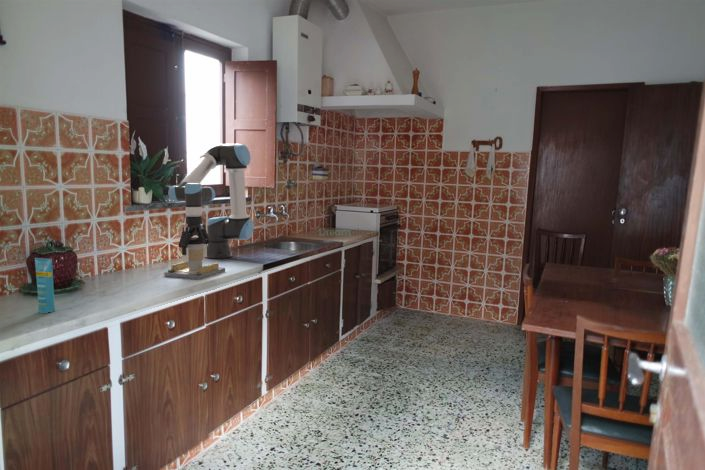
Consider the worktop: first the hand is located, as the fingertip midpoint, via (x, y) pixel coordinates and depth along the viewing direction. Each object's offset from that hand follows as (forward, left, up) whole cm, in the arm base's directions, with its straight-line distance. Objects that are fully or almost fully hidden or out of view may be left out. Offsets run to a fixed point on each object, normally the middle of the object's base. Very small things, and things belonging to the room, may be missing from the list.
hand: (195, 259), depth 235 cm
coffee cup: (0, 0, -5) cm, 5 cm away
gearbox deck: (0, 0, -7) cm, 7 cm away
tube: (+72, -7, -7) cm, 73 cm away
